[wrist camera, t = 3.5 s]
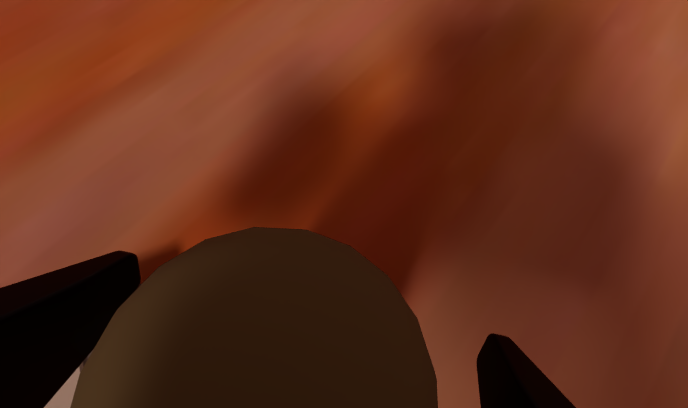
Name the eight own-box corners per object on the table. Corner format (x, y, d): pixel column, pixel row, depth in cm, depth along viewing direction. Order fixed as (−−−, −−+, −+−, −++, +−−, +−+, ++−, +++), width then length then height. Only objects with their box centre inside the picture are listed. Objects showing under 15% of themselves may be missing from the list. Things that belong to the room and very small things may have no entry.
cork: (319, 244, 15) (281, 95, 5) (411, 346, 14) (631, 443, 4) (213, 337, 14) (-161, 407, 3) (303, 461, 13) (139, 1191, 2)
